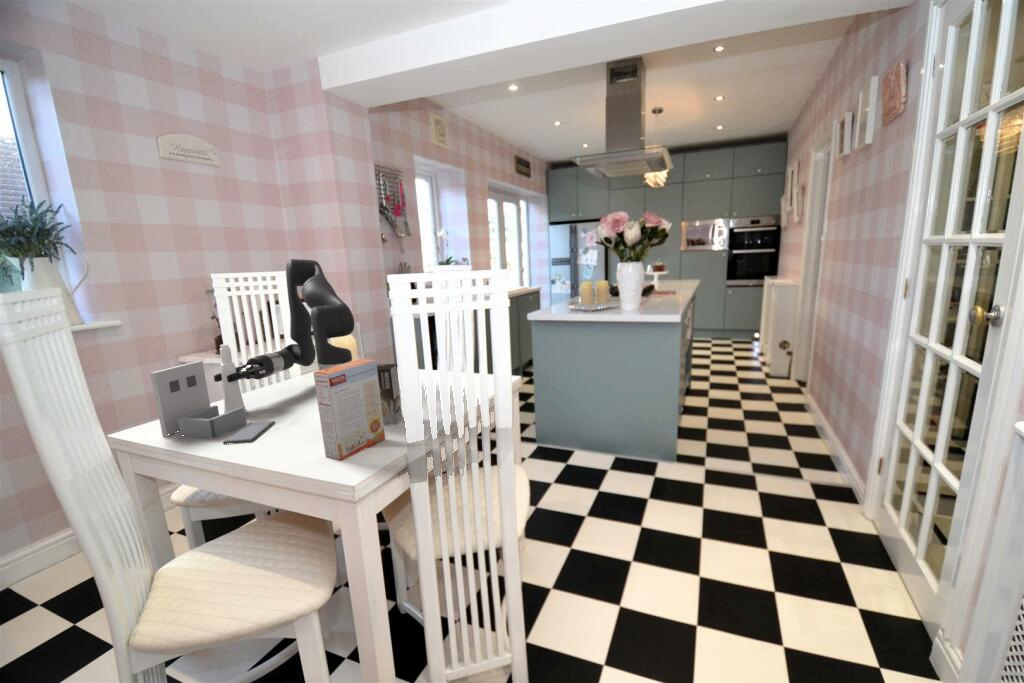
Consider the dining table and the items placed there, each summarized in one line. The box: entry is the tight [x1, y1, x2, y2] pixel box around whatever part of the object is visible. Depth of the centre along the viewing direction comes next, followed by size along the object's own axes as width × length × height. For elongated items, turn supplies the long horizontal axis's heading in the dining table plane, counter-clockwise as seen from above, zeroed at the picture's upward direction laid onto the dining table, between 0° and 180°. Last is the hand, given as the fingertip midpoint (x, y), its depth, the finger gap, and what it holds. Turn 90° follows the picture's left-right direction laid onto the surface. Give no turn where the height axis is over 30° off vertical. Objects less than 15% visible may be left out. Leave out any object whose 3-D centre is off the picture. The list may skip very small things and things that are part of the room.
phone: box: [223, 420, 276, 445], centre depth 124 cm, size 7×14×1 cm, turn 5°
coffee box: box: [376, 363, 403, 426], centre depth 126 cm, size 9×6×16 cm
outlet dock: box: [150, 360, 248, 439], centre depth 127 cm, size 17×14×18 cm
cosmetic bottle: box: [219, 343, 247, 414], centre depth 139 cm, size 6×6×22 cm
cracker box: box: [313, 358, 386, 461], centre depth 108 cm, size 14×6×21 cm, turn 149°
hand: (221, 378), depth 136 cm, fingers open, 4 cm apart
